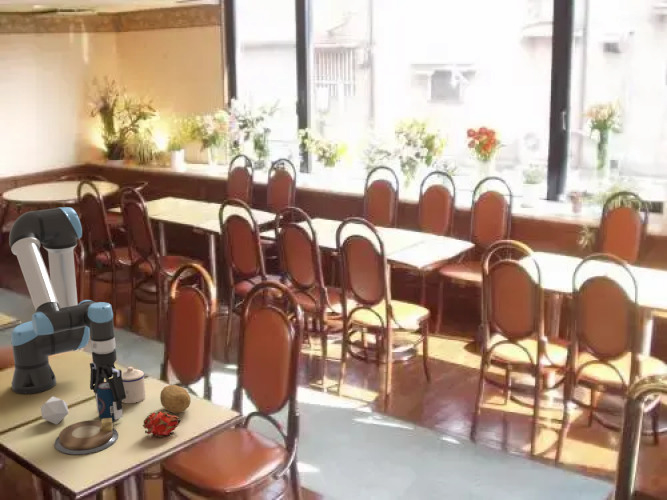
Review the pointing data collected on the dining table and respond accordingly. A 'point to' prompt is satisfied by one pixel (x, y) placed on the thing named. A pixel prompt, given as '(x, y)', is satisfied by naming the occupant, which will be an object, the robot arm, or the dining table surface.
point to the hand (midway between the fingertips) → (109, 414)
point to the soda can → (105, 401)
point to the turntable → (86, 434)
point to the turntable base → (86, 451)
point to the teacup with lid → (133, 385)
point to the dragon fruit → (160, 423)
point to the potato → (175, 399)
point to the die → (54, 410)
